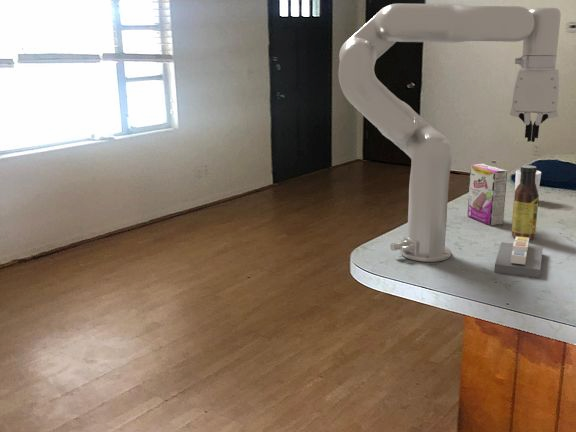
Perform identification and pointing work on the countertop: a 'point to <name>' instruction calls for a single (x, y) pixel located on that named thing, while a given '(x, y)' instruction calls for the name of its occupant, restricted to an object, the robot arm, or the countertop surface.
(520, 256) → the key blue
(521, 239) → the key mustard
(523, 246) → the key terracotta
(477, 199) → the candy bar box
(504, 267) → the keypad board
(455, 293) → the countertop surface
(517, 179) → the white cup
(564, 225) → the countertop surface
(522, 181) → the sauce bottle
